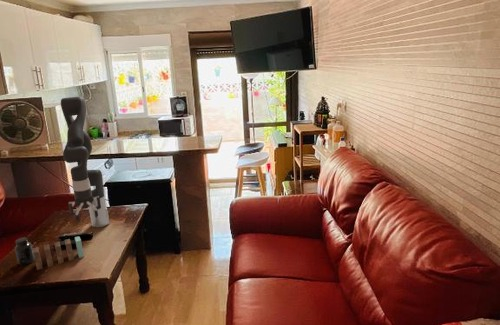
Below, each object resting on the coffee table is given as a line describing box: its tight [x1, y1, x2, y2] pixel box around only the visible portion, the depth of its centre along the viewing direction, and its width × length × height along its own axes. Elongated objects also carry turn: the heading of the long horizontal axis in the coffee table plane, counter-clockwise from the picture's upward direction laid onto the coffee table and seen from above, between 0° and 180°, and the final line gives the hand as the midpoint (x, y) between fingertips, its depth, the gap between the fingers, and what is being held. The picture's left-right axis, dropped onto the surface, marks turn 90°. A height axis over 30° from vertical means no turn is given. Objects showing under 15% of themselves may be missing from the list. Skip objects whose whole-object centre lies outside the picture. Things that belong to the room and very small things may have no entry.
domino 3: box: [54, 241, 65, 265], centre depth 174 cm, size 2×5×9 cm, turn 32°
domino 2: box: [43, 243, 54, 267], centre depth 172 cm, size 2×5×9 cm, turn 32°
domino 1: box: [32, 246, 43, 271], centre depth 169 cm, size 2×5×9 cm, turn 32°
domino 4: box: [64, 238, 75, 262], centre depth 176 cm, size 2×5×9 cm, turn 32°
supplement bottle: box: [14, 236, 35, 266], centre depth 174 cm, size 7×7×12 cm
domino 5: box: [74, 236, 85, 259], centre depth 178 cm, size 2×5×9 cm, turn 32°
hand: (87, 219), depth 178 cm, fingers open, 7 cm apart
